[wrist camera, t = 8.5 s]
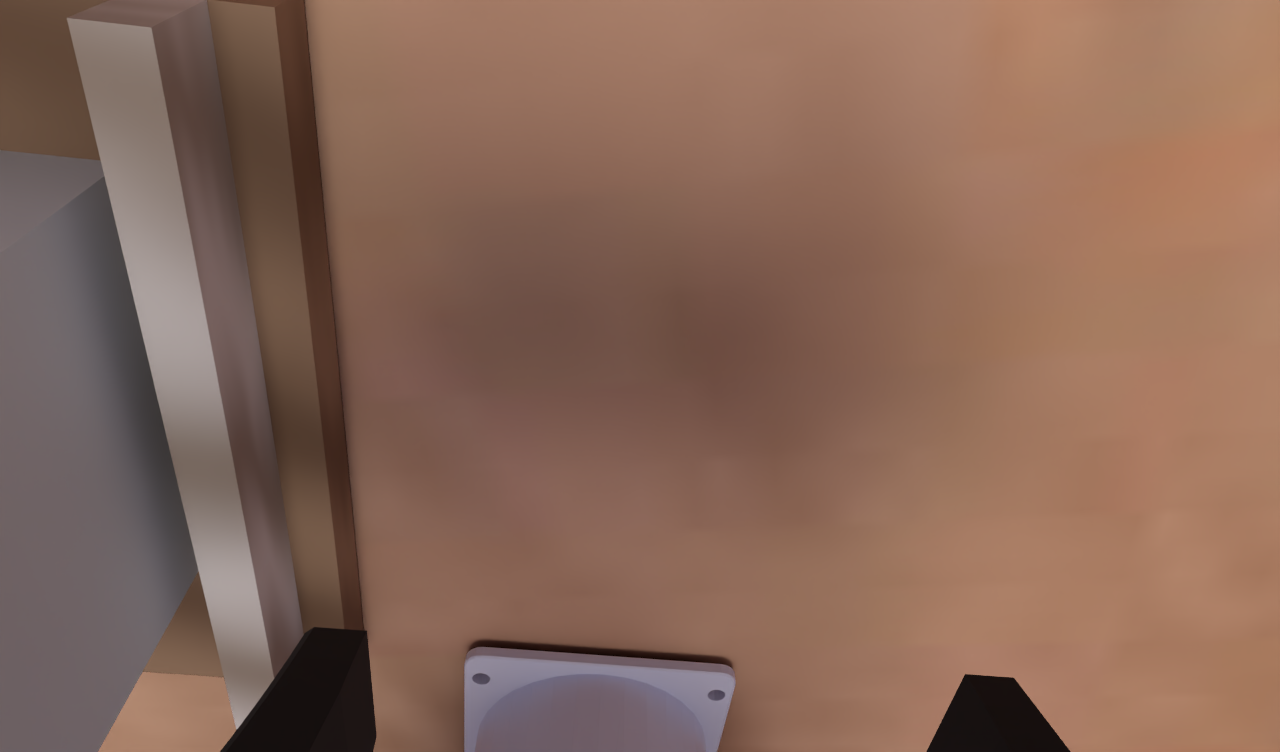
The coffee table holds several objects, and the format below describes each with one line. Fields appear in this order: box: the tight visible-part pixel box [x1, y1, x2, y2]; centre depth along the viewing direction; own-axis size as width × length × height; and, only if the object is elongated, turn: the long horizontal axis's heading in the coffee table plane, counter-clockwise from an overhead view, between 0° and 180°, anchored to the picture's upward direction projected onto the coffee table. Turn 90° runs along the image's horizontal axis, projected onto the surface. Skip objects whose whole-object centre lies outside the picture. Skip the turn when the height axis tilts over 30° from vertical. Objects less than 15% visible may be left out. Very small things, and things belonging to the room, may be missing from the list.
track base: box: [0, 0, 364, 730], centre depth 19 cm, size 18×9×4 cm, turn 174°
